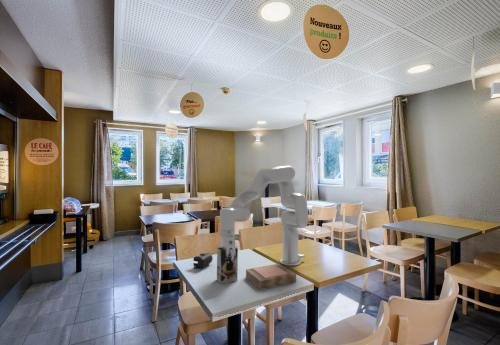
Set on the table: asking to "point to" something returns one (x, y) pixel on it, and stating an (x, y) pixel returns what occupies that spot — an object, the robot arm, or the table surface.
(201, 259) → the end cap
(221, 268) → the coffee box
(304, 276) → the table surface
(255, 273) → the stand
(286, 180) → the robot arm
